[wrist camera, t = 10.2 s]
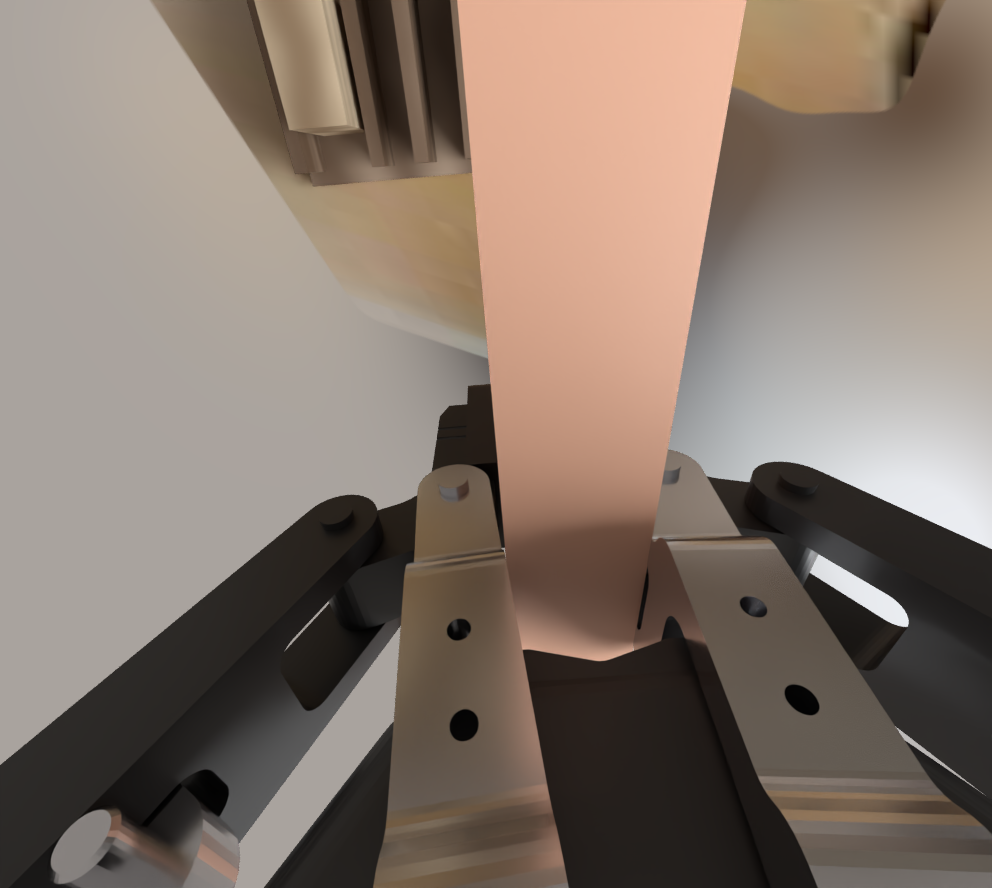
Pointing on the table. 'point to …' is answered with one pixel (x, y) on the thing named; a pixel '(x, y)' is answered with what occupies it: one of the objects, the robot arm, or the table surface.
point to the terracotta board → (589, 280)
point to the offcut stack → (312, 65)
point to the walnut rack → (391, 96)
